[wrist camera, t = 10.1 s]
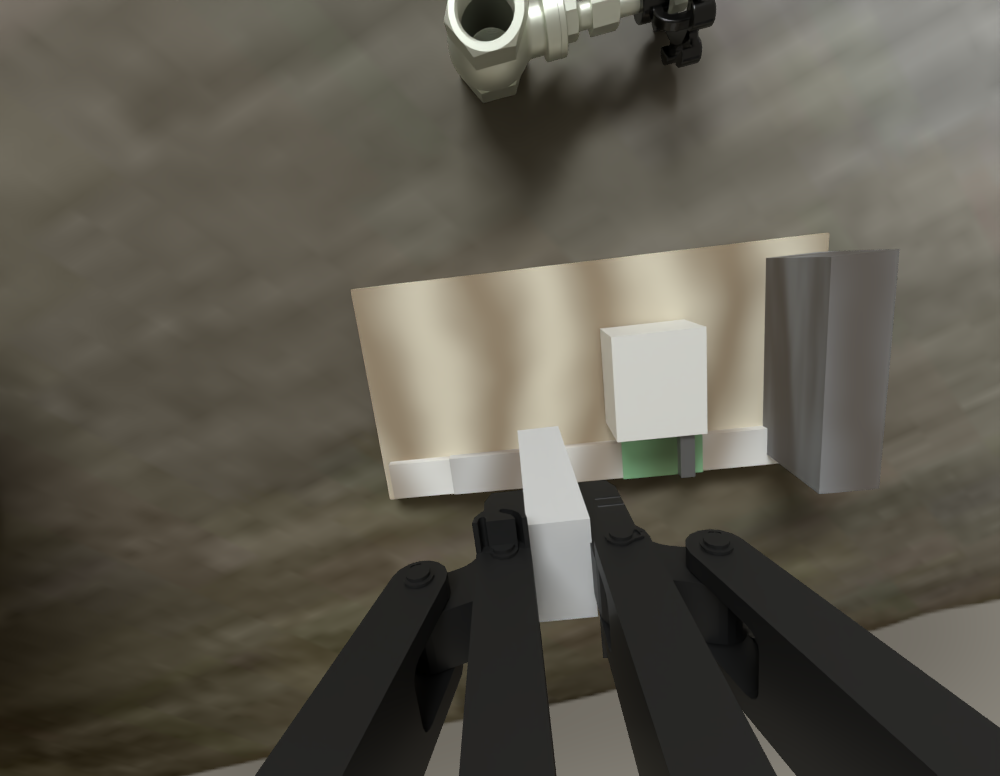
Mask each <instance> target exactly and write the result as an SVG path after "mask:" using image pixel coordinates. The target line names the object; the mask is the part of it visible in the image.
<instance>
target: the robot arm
mask: <svg viewBox="0 0 1000 776" xmlns="http://www.w3.org/2000/svg"><path fill="white" fill-rule="evenodd" d="M517 432H518V442H519V453H520V463H521V474H522V484H523V490H518V491H509V492H500V493H492V494H491V495H490V496H489V497H488V499H487V500H486V501H485V504H484V511H483V512H481V513H480V514H478V515H477V516H476V517H475V518H474V520H473V522H472V526H473V533H474V539H475V546H476V552H477V555H476V559H475V560H474V561H473V562H472V563H470V564H468V565H467V566H465V567H462V568H460V569H457V570H454V571H451V572H448V573H447V571H446V568H445V566H443V565H442V564H440V563H439V562H434V561H419V562H416V563H412V564H409V565H407V566H406V567H404V568H402V569H400V570H399V571H398V572H397V573H396V574H395V575H394V576H393V577H392V579H391V580H390V581H389V583H388V584H387V586H386V587H385V589H384V590H383V592H382V593H381V594H380V596H379V597H378V599H377V600H376V602H375V603H374V605H373V606H372V607H371V609H370V610H369V612H368V613H367V615H366V616H365V618H364V619H363V620H362V622H361V623H360V625H359V626H358V628H357V629H356V631H355V632H354V633H353V635H352V636H351V638H350V639H349V641H348V642H347V644H346V645H345V646H344V648H343V649H342V651H341V652H340V654H339V655H338V657H337V658H336V659H335V661H334V662H333V664H332V665H331V667H330V668H329V670H328V671H327V672H326V674H325V675H324V677H323V678H322V680H321V681H320V683H319V684H318V685H317V687H316V688H315V690H314V691H313V693H312V694H311V696H310V697H309V698H308V700H307V701H306V703H305V704H304V706H303V707H302V709H301V710H300V711H299V713H298V714H297V716H296V717H295V719H294V720H293V722H292V723H291V724H290V726H289V727H288V729H287V730H286V732H285V733H284V735H283V736H282V737H281V739H280V740H279V742H278V743H277V745H276V746H275V748H274V749H273V750H272V752H271V753H270V755H269V756H268V758H267V759H266V761H265V762H264V763H263V765H262V766H261V768H260V769H259V771H258V772H257V774H256V775H255V776H424V774H425V771H426V769H427V766H428V763H429V761H430V758H431V755H432V753H433V750H434V747H435V744H436V742H437V739H438V737H439V734H440V731H441V729H442V726H443V723H444V721H445V718H446V715H447V713H448V710H449V707H450V705H451V702H452V699H453V697H454V694H455V691H456V689H457V686H458V683H459V681H460V678H461V675H462V670H463V664H464V663H467V662H468V668H467V681H466V694H465V706H464V719H463V732H462V744H461V757H460V769H459V776H556V767H555V759H554V749H553V740H552V731H551V723H550V714H549V703H548V694H547V685H546V676H545V667H544V658H543V649H542V640H541V631H540V623H539V622H547V621H557V620H567V619H577V618H587V617H597V616H598V612H597V605H598V609H599V612H600V623H601V636H602V648H603V658H608V659H609V663H610V667H611V671H612V674H613V678H614V682H615V686H616V689H617V693H618V697H619V701H620V704H621V708H622V712H623V716H624V720H625V723H626V727H627V731H628V735H629V738H630V742H631V746H632V750H633V753H634V757H635V761H636V765H637V769H638V772H639V776H777V775H776V773H775V772H774V769H773V768H772V766H771V764H770V762H769V760H768V758H767V756H766V755H765V753H764V751H763V749H762V747H761V745H760V743H759V741H758V739H757V737H756V736H755V734H754V732H753V730H752V728H751V726H750V725H749V722H748V721H747V719H746V717H745V715H744V713H745V714H746V715H747V716H748V718H749V719H750V720H751V721H752V723H753V724H754V725H755V726H756V727H757V729H758V730H759V731H760V732H761V733H762V735H763V736H764V737H765V738H766V739H767V740H768V742H769V743H770V744H771V746H772V747H773V748H774V749H775V750H776V752H777V753H778V754H779V755H780V756H781V758H782V759H783V760H784V761H785V762H786V764H787V765H788V766H789V767H790V768H791V770H792V771H793V772H794V773H795V775H796V776H1000V728H999V727H998V726H997V725H995V724H994V723H992V722H991V721H990V720H988V719H987V718H985V717H984V716H983V715H982V714H980V713H979V712H978V711H976V710H975V709H974V708H972V707H971V706H969V705H968V704H967V703H965V702H964V701H962V700H961V699H960V698H958V697H957V696H956V695H954V694H953V693H952V692H950V691H949V690H948V689H946V688H945V687H943V686H942V685H941V684H939V683H938V682H937V681H935V680H934V679H932V678H931V677H930V676H928V675H927V674H925V673H924V672H923V671H922V670H920V669H919V668H918V667H916V666H915V665H913V664H912V663H911V662H909V661H908V660H907V659H905V658H904V657H902V656H901V655H900V654H898V653H897V652H896V651H894V650H893V649H892V648H890V647H889V646H887V645H886V644H885V643H883V642H882V641H880V640H879V639H878V638H877V637H875V636H874V635H873V634H871V633H870V632H868V631H867V630H866V629H864V628H863V627H862V626H860V625H859V624H858V623H856V622H855V621H853V620H852V619H851V618H849V617H848V616H847V615H845V614H844V613H842V612H841V611H840V610H838V609H837V608H836V607H834V606H833V605H832V604H830V603H829V602H827V601H826V600H825V599H823V598H822V597H821V596H819V595H818V594H817V593H815V592H814V591H812V590H811V589H810V588H808V587H807V586H806V585H804V584H803V583H802V582H800V581H799V580H797V579H796V578H795V577H793V576H792V575H791V574H789V573H788V572H787V571H785V570H784V569H782V568H781V567H780V566H778V565H777V564H776V563H774V562H773V561H772V560H770V559H769V558H767V557H766V556H765V555H763V554H762V553H761V552H759V551H758V550H757V549H755V548H754V547H752V546H751V545H750V544H748V543H747V542H746V541H744V540H743V539H741V538H740V537H738V536H736V535H734V534H732V533H728V532H725V531H721V530H714V529H711V530H701V531H697V532H695V533H692V534H690V535H689V536H688V537H687V539H686V547H677V546H668V545H662V544H658V543H655V542H652V540H651V538H650V536H649V535H648V534H647V532H646V531H645V530H644V529H642V528H640V527H638V526H636V525H635V524H634V522H633V520H632V518H631V516H630V514H629V512H628V510H627V508H626V506H625V504H624V502H623V500H622V499H621V497H620V495H619V493H618V491H617V489H616V487H615V486H614V485H612V484H611V483H609V482H608V481H606V480H599V481H589V482H580V483H577V480H576V477H575V474H574V471H573V468H572V465H571V462H570V459H569V456H568V453H567V450H566V448H565V445H564V442H563V439H562V436H561V433H560V430H559V427H558V426H553V427H544V428H535V429H527V430H518V431H517ZM742 710H743V711H742ZM743 712H744V713H743Z"/></svg>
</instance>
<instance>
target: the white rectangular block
mask: <svg viewBox="0 0 1000 776" xmlns="http://www.w3.org/2000/svg"><path fill="white" fill-rule="evenodd" d="M600 337H601V352H602V368H603V383H604V398H605V414H606V423H607V425H608V427H609V429H610V430H611V432H612V434H613V436H614V437H615V439H616V441H617V442H626V441H636V440H647V439H657V438H667V437H677V453H678V474H679V475H680V477H681V478H686V477H695V435H698V434H708V430H707V332H706V327H705V326H703V325H700V324H697V323H694V322H691V321H688V320H685V319H682V320H673V321H664V322H655V323H646V324H637V325H628V326H619V327H610V328H601V329H600Z"/></svg>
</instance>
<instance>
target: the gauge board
mask: <svg viewBox="0 0 1000 776" xmlns="http://www.w3.org/2000/svg"><path fill="white" fill-rule="evenodd" d="M828 248H829V233H820V234H811V235H803V236H794V237H786V238H777V239H769V240H761V241H752V242H744V243H735V244H727V245H719V246H710V247H702V248H694V249H685V250H677V251H668V252H660V253H652V254H643V255H635V256H626V257H618V258H610V259H601V260H593V261H584V262H576V263H568V264H559V265H551V266H543V267H534V268H526V269H517V270H509V271H501V272H492V273H484V274H475V275H467V276H459V277H450V278H442V279H433V280H425V281H417V282H408V283H400V284H391V285H383V286H375V287H366V288H358V289H352V290H351V294H352V300H353V305H354V310H355V315H356V321H357V326H358V331H359V337H360V342H361V347H362V352H363V358H364V363H365V368H366V374H367V379H368V384H369V389H370V395H371V400H372V405H373V410H374V416H375V421H376V426H377V432H378V437H379V442H380V447H381V453H382V458H383V463H384V469H385V474H386V479H387V484H388V490H389V495H390V499H401V498H412V497H422V496H433V495H444V494H454V495H455V494H466V493H477V492H488V491H498V490H509V489H520V488H523V484H522V474H521V463H520V453H519V442H518V432H517V431H518V430H527V429H535V428H544V427H553V426H558V427H559V430H560V433H561V436H562V439H563V442H564V445H565V448H566V450H567V453H568V456H569V459H570V462H571V465H572V468H573V471H574V474H575V477H576V480H577V482H584V481H595V480H606V479H617V478H623V479H631V478H642V477H653V476H664V475H674V474H678V453H677V437H667V438H657V439H647V440H636V441H626V442H617V441H616V439H615V437H614V436H613V434H612V432H611V430H610V429H609V427H608V425H607V423H606V414H605V398H604V383H603V368H602V352H601V337H600V329H601V328H610V327H619V326H628V325H637V324H646V323H655V322H664V321H673V320H682V319H685V320H688V321H691V322H694V323H697V324H700V325H703V326H705V327H706V332H707V430H708V434H698V435H695V473H696V472H703V470H714V469H725V468H736V467H746V466H757V465H768V464H780V465H782V466H783V467H784V468H786V469H787V470H788V471H790V472H791V473H792V474H793V475H795V476H796V477H797V478H799V479H800V480H801V481H803V482H804V483H805V484H807V485H808V486H809V487H811V488H812V489H813V490H814V491H816V492H817V493H818V494H826V493H837V492H848V491H860V490H871V489H879V483H880V471H881V460H882V448H883V436H884V425H885V413H886V401H887V390H888V378H889V366H890V354H891V343H892V331H893V319H894V308H895V296H896V284H897V273H898V261H899V249H886V250H857V251H828Z"/></svg>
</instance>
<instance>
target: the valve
mask: <svg viewBox="0 0 1000 776" xmlns="http://www.w3.org/2000/svg"><path fill="white" fill-rule="evenodd" d="M686 7H687V11H684V10H685V9H686ZM681 11H684V12H681ZM678 12H681V13H678ZM630 15H634V19H635V21H636V23H637V24H638V25H642V24H646V23H650V22H652V27H653V30H654V31H655V32H657V31H660V30H663V31H666V33H667V36H668V38H669V40H670V45H668V46H664V47H662V48H661V59H662V63H663V64H664V65H668V64H672V63H676V66H677V67H678V68H680V67H684V66H688V65H691V64H695V63H698V62H699V61H700V58H701V54H702V43H701V40H700V38H699V37H698V31H699V30H700V29H703V28H707V27H710V26H712V24H713V23H714V20H715V16H716V3H715V0H583V1H580V2H576V0H448V3H447V7H446V12H445V17H444V24H445V27H446V31H447V42H448V50H449V54H450V58H451V61H452V63H453V65H454V67H455V69H456V71H457V72H458V74H459V75H460V76H461V78H462V79H463V80H464V81H465V82H466V84H467V85H468V86H469V87H470V88H471V90H472V91H473V92H474V93H475V94H476V95H477V97H478V98H479V99H480V100H481V101H482V102H483V103H486V102H489V101H493V100H497V99H501V98H504V97H508V96H512V95H515V94H516V92H517V88H518V85H519V81H520V78H521V74H522V73H523V71H524V70H525V68H526V66H527V64H528V62H529V61H530V60H531V59H533V58H536V57H540V56H544V57H545V59H546V61H547V62H551V61H554V60H558V59H562V58H566V57H567V55H568V46H569V45H568V43H572V42H576V41H577V39H578V37H579V32H580V31H583V30H587V29H588V31H589V34H590V37H594V36H598V35H601V34H605V33H608V32H612V31H615V30H616V29H617V28H618V26H619V23H620V18H623V17H626V16H630Z"/></svg>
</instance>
